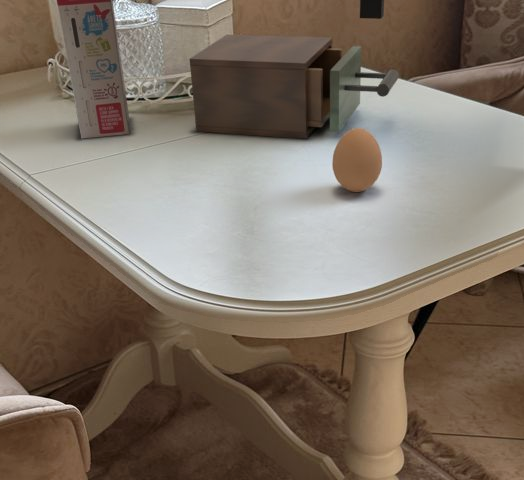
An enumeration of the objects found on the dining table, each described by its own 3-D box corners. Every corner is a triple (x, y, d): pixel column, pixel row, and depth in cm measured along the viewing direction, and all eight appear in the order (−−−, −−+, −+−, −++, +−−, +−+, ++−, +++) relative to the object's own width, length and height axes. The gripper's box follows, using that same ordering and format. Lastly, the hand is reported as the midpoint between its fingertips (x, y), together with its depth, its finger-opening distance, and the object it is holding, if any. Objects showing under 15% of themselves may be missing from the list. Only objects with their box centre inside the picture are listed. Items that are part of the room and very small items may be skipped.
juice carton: (129, 118, 114) (105, -51, 101) (130, 133, 108) (104, -44, 96) (82, 123, 113) (52, -48, 101) (81, 138, 108) (49, -40, 95)
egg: (323, 193, 88) (322, 132, 84) (348, 177, 92) (349, 117, 88) (364, 203, 85) (366, 140, 81) (389, 187, 89) (392, 125, 85)
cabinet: (332, 107, 114) (332, 37, 108) (306, 138, 103) (305, 63, 98) (231, 101, 118) (226, 34, 113) (196, 131, 108) (189, 58, 102)
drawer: (400, 105, 110) (404, 47, 106) (383, 135, 100) (385, 72, 96) (262, 98, 116) (260, 43, 111) (233, 125, 106) (229, 66, 102)
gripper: (358, -212, 92) (354, 5, 105) (330, -213, 82) (329, 28, 95) (423, -216, 90) (410, 6, 103) (402, -217, 80) (391, 30, 93)
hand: (371, 16), depth 99 cm, fingers closed
